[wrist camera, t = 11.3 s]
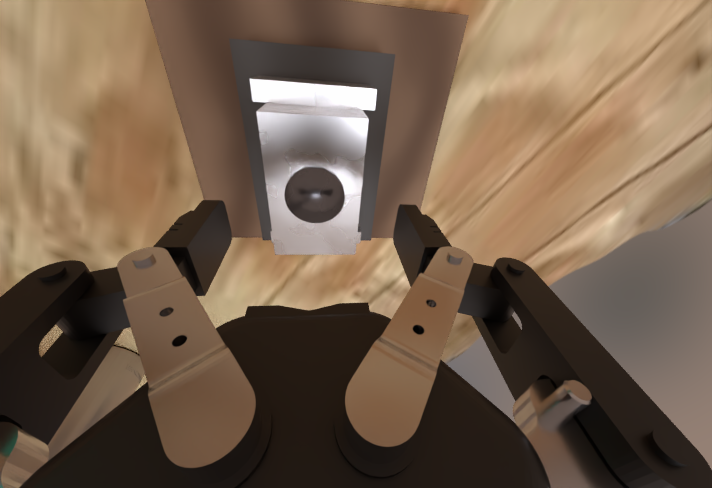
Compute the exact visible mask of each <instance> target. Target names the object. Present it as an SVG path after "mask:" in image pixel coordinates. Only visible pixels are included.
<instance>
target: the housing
mask: <svg viewBox="0 0 712 488" xmlns="http://www.w3.org/2000/svg"><path fill="white" fill-rule="evenodd" d="M250 86H251V93H252V100H253V102H266V104H264V105H263V106H262V107H261V108H260V109H259V110H257V111H256V113H257V121H258V128H259V136H260V143H261V151H262V159H263V166H264V174H265V181H266V189H267V196H268V204H269V212H270V219H271V227H272V228H271V231H270V232H271V240H272V243H274V250H275V255H343V254H355V252H356V243H360V239H361V229H360V224H359V212H360V202H361V192H362V182H363V172H364V161H365V151H366V141H367V131H368V121H369V119H368V117H367V116H366V114H365V113H364V112H363V110H375V102H376V93H377V89H376V88H374V87H373V86H371V85H366V84H354V83H343V82H331V81H319V80H308V79H296V78H284V77H272V76H261V75H259V76H256V77H253V78H250ZM362 109H363V110H362Z"/></svg>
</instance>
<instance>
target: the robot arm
mask: <svg viewBox="0 0 712 488" xmlns="http://www.w3.org/2000/svg"><path fill="white" fill-rule="evenodd" d="M231 240H232V232H231V227H230V223H229V219H228V215H227V211H226V207H225V204H224V202H223V201H222V200H203V201H202V202H201V203H200V204H199V205H198V206H197V208H196V209H195V210H194V211H189V212H188V213H186V214H184V215H182V216H180V217H179V218H178V220H177V221H176V222H175V223H174V225H172V226H171V227H170V229H169V231H167V232H166V233H165V234H164V235H163V236H162V238H161V239H160V240H159V241H158V242H157V243H156V244H155V245H154V247H149V248H143V249H140V250H137V251H134V252H132V253H130V254H128V255H126V256H125V257H123V258H122V259H121V260H120V261H119V262H118V265H117V267H114V268H109V269H104V270H98V271H93V272H90V271H89V270H88V268H87V267H86V265H85V264H84V263H83V262H80V261H62V262H57V263H54V264H50V265H47V266H44V267H42V268H40V269H38V270H36V271H34V272H32V273H30V274H29V275H27V276H26V277H25V278H24V279H22V280H21V281H20V282H19V283H17V284H16V285H15V286H14V287H12V288H11V289H10V290H9V291H7V292H6V293H5V294H4V295H2V296H1V297H0V488H712V470H711V468H710V466H709V465H708V463H707V462H706V460H705V459H704V457H703V456H702V455H701V454H700V452H699V451H698V450H697V449H696V448H695V447H694V446H693V445H692V444H691V442H690V441H689V440H688V439H687V438H686V437H685V436H684V435H683V434H682V432H681V431H680V430H679V429H678V428H677V427H676V426H675V425H674V424H673V423H672V422H671V420H670V419H669V418H668V417H667V416H666V415H665V414H664V413H663V412H662V411H661V410H660V409H659V407H658V406H657V405H656V404H655V403H654V402H653V401H652V400H651V399H650V397H649V396H648V395H647V394H646V393H645V392H644V391H643V390H642V389H641V388H640V387H639V385H638V384H637V383H636V382H635V381H634V380H633V379H632V378H631V377H630V376H629V374H628V373H627V372H626V371H625V370H624V369H623V368H622V367H621V366H620V365H619V364H618V363H617V361H616V360H615V359H614V358H613V357H612V356H611V355H610V354H609V353H608V351H606V349H605V348H604V347H603V346H602V345H601V344H600V343H599V342H598V341H597V340H596V338H595V337H594V336H593V335H592V334H591V333H590V332H589V331H588V330H587V329H586V327H585V326H584V325H583V324H582V323H581V322H580V321H579V320H578V319H577V318H576V316H575V315H574V314H573V313H572V312H571V311H570V310H569V309H568V308H567V307H566V306H565V304H564V303H563V302H562V301H561V300H560V299H559V298H558V297H557V296H556V295H555V293H554V292H553V291H552V290H551V289H550V288H549V287H548V286H547V285H546V284H545V283H544V281H543V280H542V279H541V278H540V277H539V276H538V275H537V274H536V273H535V272H534V270H533V269H532V268H531V267H529V266H528V265H526V264H525V263H523V262H521V261H519V260H516V259H512V258H499V259H497V260H496V262H495V264H494V266H493V267H491V266H486V265H481V264H477V263H473V258H472V257H471V256H470V255H469V254H468V253H467V252H465V251H463V250H461V249H459V248H456V247H452V246H451V245H450V243H449V242H448V240H447V239H446V237H445V236H444V235H443V233H441V230H440V229H439V228H438V226H437V224H436V223H435V221H434V220H433V219H431V218H430V217H428V216H427V215H422V213H421V212H420V210H419V209H418V207H417V206H416V205H411V204H400V205H399V207H398V211H397V217H396V222H395V227H394V233H393V241H394V245H395V248H396V250H397V253H398V255H399V258H400V260H401V263H402V265H403V268H404V271H405V273H406V276H407V278H408V281H409V283H410V286H411V288H410V290H409V292H408V293H407V295H406V297H405V298H404V300H403V301H402V303H401V305H400V306H399V308H398V310H397V311H396V313H395V314H394V316H393V318H392V319H390V318H388V317H386V316H383V315H381V314H378V313H374V312H370V311H369V305H368V303H342V304H336V305H332V306H328V307H323V308H319V309H315V310H309V311H308V310H302V309H296V308H290V307H284V306H279V305H278V306H248V307H247V311H246V314H245V316H243V317H240V318H237V319H234V320H231V321H229V322H227V323H225V324H223V325H221V326H219V327H217V328H216V329H215V327H214V325H213V323H212V322H211V320H210V318H209V317H208V315H207V313H206V312H205V310H204V308H203V306H202V305H201V303H200V301H199V300H198V298H197V296H205V295H206V293H207V291H208V289H209V287H210V285H211V283H212V281H213V279H214V277H215V275H216V273H217V271H218V268H219V266H220V264H221V262H222V260H223V258H224V256H225V254H226V252H227V250H228V248H229V246H230V244H231ZM514 311H515V313H516V314H517V315H518V317H519V318H520V320H521V323H522V330H521V329H520V327H519V326H518V324H517V323H516V321H515V320H514V318H513V317H512V314H513V313H514ZM457 312H458V313H462V314H467V315H471V316H472V317H473V319H474V321H475V323H476V325H477V327H478V329H479V331H480V333H481V335H482V337H483V339H484V340H485V342H486V345H487V346H488V348H489V350H490V352H491V354H492V356H493V358H494V360H495V362H496V364H497V366H498V368H499V370H500V372H501V374H502V376H503V378H504V380H505V382H506V384H507V385H508V388H509V390H510V391H511V393H512V395H513V397H514V399H515V403H514V405H513V416H514V420H515V422H516V424H515V423H514V422H513V421H512V420H511V419H510V418H509V417H508V416H507V415H505V414H504V413H503V412H502V411H501V410H500V409H498V408H497V407H496V406H495V405H494V404H492V403H491V402H490V401H489V400H488V399H487V398H485V397H484V396H483V395H482V394H481V393H480V392H478V391H477V390H476V389H475V388H474V387H472V386H471V385H470V384H469V383H468V382H467V381H465V380H464V379H463V378H462V377H461V376H460V375H458V374H457V373H456V372H455V371H454V370H452V369H451V368H450V367H448V365H447V364H445V363H444V362H443V361H442V360H441V357H442V354H443V351H444V348H445V346H446V343H447V340H448V337H449V334H450V331H451V329H452V326H453V323H454V320H455V317H456V314H457ZM55 324H56V325H57V326H58V327H59V328H60V329H61V330H62V331H63V333H62V334H61V335H60V337H59V338H58V339H57V340H56V341H55V342H54V344H53V345H52V346H51V347H50V348H49V349H48V351H47V352H46V353H45V354H44V355H43V356H42V357H41V356H40V355H39V345H40V342H41V340H42V339H43V338H44V336H45V335H46V334H47V333H48V332H49V331H50V330H51V329H52V328H53V327H54V325H55ZM129 327H131V329H132V332H133V336H134V339H135V342H136V345H137V349H138V352H139V355H140V356H138V355H137V354H135V353H133V352H131V351H128V350H126V349H123V348H119V347H115V346H113V344H114V343H115V341H116V340H117V338H118V337H119V335H120V334H121V332H122V331H123V329H125V328H129ZM144 374H145V375H146V378H147V383H146V384H144V385H143V386H142V387H140V388H139V389H138V390H137V391H135V390H136V388H137V387H138V385H139V383H140V382H141V380H142V378H143V376H144Z"/></svg>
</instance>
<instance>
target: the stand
mask: <svg viewBox="0 0 712 488" xmlns="http://www.w3.org/2000/svg"><path fill="white" fill-rule="evenodd" d="M145 2H146V5H147V8H148V12H149V15H150V18H151V22H152V25H153V29H154V32H155V35H156V39H157V42H158V45H159V49H160V52H161V55H162V59H163V62H164V66H165V69H166V72H167V76H168V79H169V82H170V86H171V89H172V92H173V96H174V99H175V103H176V106H177V109H178V113H179V116H180V119H181V123H182V126H183V130H184V133H185V136H186V140H187V143H188V146H189V150H190V153H191V156H192V160H193V163H194V167H195V170H196V173H197V177H198V180H199V183H200V187H201V190H202V193H203V197H204V200H222V201H223V202H224V204H225V207H226V211H227V215H228V219H229V223H230V227H231V232H232V237H262V238H263V240H271V232H270V231H271V228H272V227H271V219H270V212H269V204H268V196H267V189H266V181H265V174H264V166H263V159H262V151H261V143H260V136H259V128H258V121H257V113H256V111H257V110H259V109H260V108H261V107H262V106H263V105H264V104H266V102H253V100H252V93H251V86H250V78H253V77H256V76H259V75H261V76H272V77H284V78H296V79H308V80H319V81H331V82H343V83H354V84H366V85H371V86H373V87H374V88H376V89H377V93H376V102H375V110H363V109H362V110H363V112H364V113H365V114H366V116H367V117H368V119H369V121H368V131H367V141H366V151H365V161H364V172H363V182H362V192H361V202H360V212H359V224H360V229H361V239H360V240H371V238H393V233H394V227H395V222H396V217H397V211H398V207H399V205H400V204H411V205H416V206H417V207H418V209H419V210H420V209H421V205H422V201H423V197H424V193H425V189H426V185H427V181H428V177H429V173H430V169H431V165H432V161H433V157H434V153H435V149H436V145H437V141H438V137H439V133H440V129H441V125H442V121H443V116H444V112H445V108H446V104H447V100H448V96H449V92H450V88H451V84H452V80H453V76H454V72H455V68H456V64H457V60H458V56H459V52H460V48H461V44H462V40H463V36H464V32H465V28H466V24H467V20H468V16H469V15H462V14H454V13H446V12H437V11H429V10H420V9H412V8H404V7H395V6H387V5H378V4H370V3H361V2H353V1H345V0H145Z"/></svg>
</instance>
